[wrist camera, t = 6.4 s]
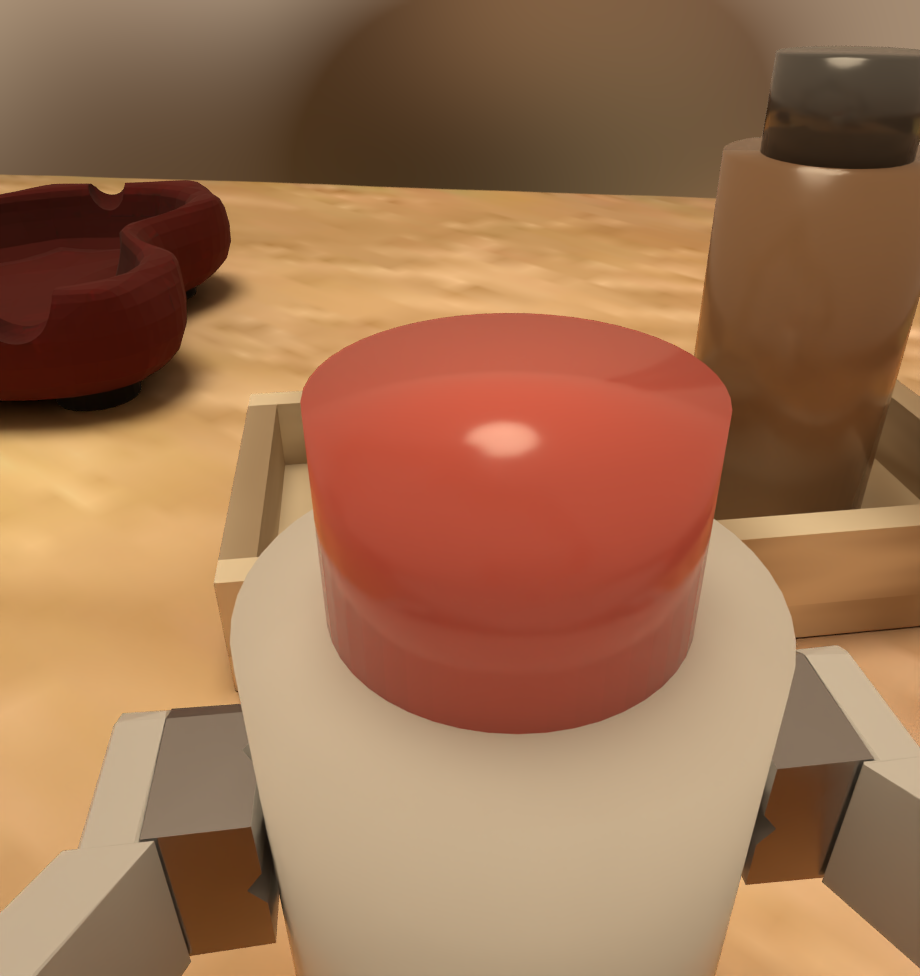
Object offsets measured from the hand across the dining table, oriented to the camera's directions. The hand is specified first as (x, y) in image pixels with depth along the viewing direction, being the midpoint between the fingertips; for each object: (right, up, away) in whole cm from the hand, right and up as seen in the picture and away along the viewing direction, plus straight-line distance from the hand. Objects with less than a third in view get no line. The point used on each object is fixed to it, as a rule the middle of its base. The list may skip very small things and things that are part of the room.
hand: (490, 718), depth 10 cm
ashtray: (-19, +9, +28) cm, 35 cm away
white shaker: (0, -6, +3) cm, 7 cm away
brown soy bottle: (+8, +2, +14) cm, 16 cm away
